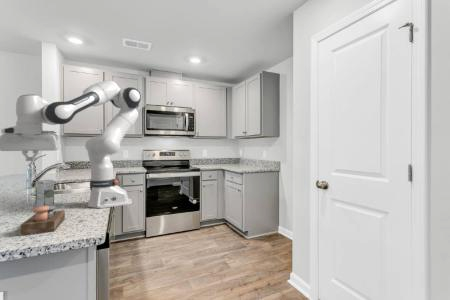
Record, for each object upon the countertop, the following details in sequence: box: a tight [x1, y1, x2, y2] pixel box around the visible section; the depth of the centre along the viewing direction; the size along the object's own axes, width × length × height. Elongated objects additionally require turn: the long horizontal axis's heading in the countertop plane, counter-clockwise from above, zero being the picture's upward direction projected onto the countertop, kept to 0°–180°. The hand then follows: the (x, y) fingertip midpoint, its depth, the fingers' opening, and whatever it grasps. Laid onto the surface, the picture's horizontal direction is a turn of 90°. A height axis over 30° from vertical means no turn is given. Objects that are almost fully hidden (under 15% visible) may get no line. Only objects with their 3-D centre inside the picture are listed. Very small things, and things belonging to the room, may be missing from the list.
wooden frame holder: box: [20, 210, 66, 237], centre depth 89 cm, size 10×16×4 cm, turn 25°
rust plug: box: [32, 206, 49, 222], centre depth 85 cm, size 5×5×6 cm
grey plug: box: [47, 205, 56, 216], centre depth 93 cm, size 5×5×6 cm
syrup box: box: [34, 179, 55, 208], centre depth 118 cm, size 6×6×14 cm
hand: (30, 160), depth 99 cm, fingers closed
